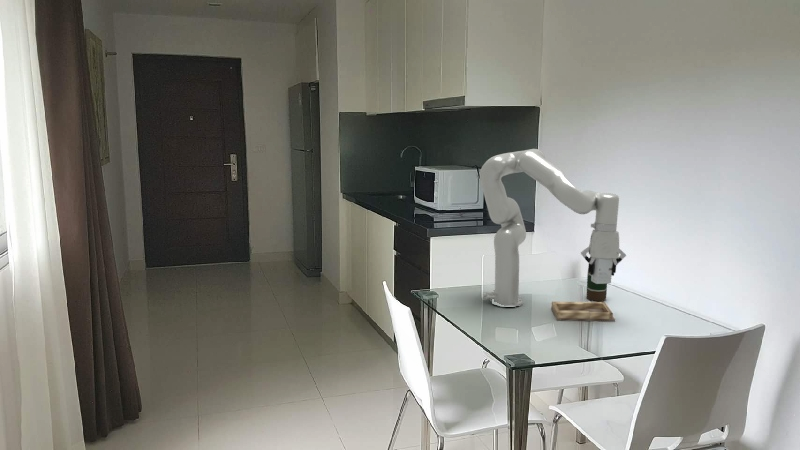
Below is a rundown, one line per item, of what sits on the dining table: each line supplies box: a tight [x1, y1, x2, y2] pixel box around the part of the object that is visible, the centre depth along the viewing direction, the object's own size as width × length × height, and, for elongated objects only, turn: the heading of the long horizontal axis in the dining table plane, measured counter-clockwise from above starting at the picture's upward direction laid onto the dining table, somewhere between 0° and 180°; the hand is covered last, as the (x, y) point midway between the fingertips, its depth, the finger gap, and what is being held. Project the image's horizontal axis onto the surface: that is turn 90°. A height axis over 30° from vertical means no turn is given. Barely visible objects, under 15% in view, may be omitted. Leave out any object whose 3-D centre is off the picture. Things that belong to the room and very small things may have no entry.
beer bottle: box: [586, 271, 608, 302], centre depth 240 cm, size 8×8×24 cm
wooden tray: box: [550, 301, 616, 322], centre depth 225 cm, size 21×13×3 cm, turn 85°
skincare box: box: [591, 258, 613, 284], centre depth 218 cm, size 6×4×12 cm
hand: (601, 273), depth 219 cm, fingers closed on skincare box, 6 cm apart
